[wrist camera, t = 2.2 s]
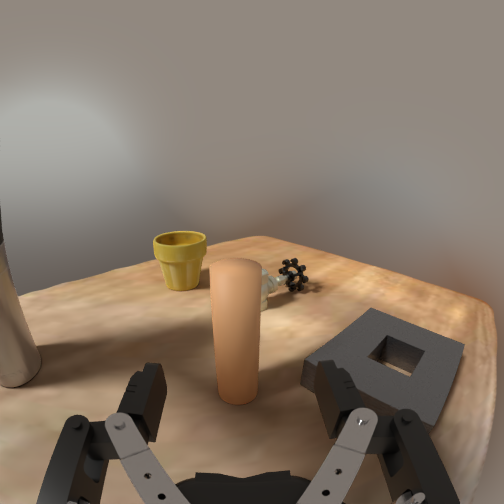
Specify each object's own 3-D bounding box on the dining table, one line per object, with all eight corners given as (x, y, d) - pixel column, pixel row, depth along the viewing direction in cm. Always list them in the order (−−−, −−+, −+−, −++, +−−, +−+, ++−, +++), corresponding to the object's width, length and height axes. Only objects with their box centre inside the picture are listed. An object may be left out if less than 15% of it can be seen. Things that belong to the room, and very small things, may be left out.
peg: (210, 388, 28) (199, 265, 23) (240, 372, 31) (239, 254, 26) (234, 411, 25) (230, 282, 20) (265, 392, 28) (272, 268, 23)
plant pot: (218, 286, 53) (216, 238, 50) (170, 301, 47) (164, 249, 44) (193, 270, 61) (191, 228, 58) (151, 281, 55) (146, 236, 52)
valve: (260, 319, 43) (307, 295, 50) (261, 281, 41) (310, 262, 48) (234, 304, 47) (281, 284, 55) (233, 269, 45) (282, 253, 53)
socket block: (300, 383, 29) (304, 359, 27) (365, 329, 39) (370, 307, 37) (416, 448, 17) (434, 426, 16) (454, 367, 27) (464, 344, 26)
